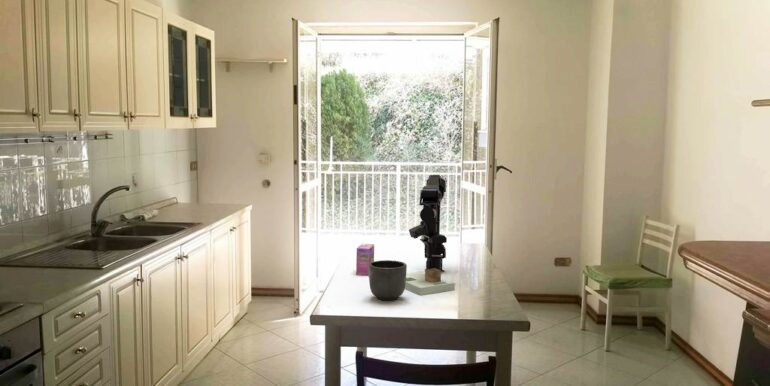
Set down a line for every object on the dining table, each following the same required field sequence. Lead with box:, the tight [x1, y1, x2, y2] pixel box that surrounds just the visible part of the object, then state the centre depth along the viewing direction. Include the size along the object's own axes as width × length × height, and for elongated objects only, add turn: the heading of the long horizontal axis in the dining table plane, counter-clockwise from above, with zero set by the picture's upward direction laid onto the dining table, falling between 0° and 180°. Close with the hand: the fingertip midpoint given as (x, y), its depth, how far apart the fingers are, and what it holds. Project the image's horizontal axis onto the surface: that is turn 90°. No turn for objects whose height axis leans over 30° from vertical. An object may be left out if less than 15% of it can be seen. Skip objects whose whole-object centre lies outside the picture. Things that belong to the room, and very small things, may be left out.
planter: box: [368, 259, 408, 302], centre depth 226 cm, size 14×14×13 cm
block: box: [424, 268, 442, 283], centre depth 245 cm, size 4×4×4 cm
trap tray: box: [405, 271, 456, 296], centre depth 246 cm, size 16×25×3 cm, turn 30°
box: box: [355, 243, 375, 277], centre depth 266 cm, size 10×6×12 cm, turn 168°
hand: (429, 257), depth 247 cm, fingers closed
